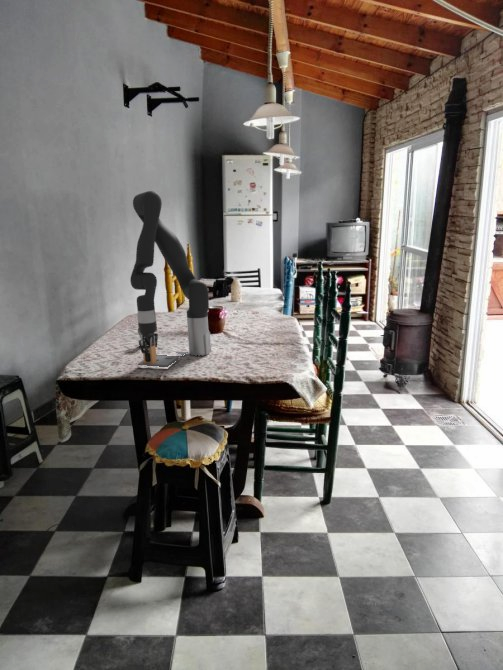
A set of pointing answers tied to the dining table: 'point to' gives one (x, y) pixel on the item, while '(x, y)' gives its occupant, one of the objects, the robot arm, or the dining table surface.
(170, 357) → the outlet plate
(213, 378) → the dining table surface
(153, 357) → the block
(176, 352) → the phone
